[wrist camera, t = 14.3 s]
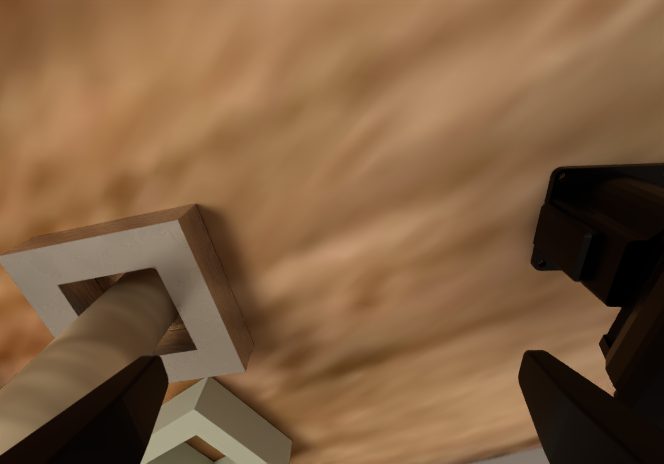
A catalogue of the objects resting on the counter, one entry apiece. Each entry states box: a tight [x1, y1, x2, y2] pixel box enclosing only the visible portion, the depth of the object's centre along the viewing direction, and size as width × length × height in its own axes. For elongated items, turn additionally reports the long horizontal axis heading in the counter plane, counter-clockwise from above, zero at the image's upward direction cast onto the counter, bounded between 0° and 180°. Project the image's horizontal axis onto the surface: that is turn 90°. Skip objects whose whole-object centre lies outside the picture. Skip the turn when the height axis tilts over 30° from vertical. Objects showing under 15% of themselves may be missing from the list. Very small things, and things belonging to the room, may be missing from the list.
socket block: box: [0, 204, 254, 383], centre depth 23 cm, size 12×12×2 cm
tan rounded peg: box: [0, 268, 179, 455], centre depth 18 cm, size 4×4×13 cm
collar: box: [140, 377, 292, 464], centre depth 29 cm, size 10×10×3 cm
